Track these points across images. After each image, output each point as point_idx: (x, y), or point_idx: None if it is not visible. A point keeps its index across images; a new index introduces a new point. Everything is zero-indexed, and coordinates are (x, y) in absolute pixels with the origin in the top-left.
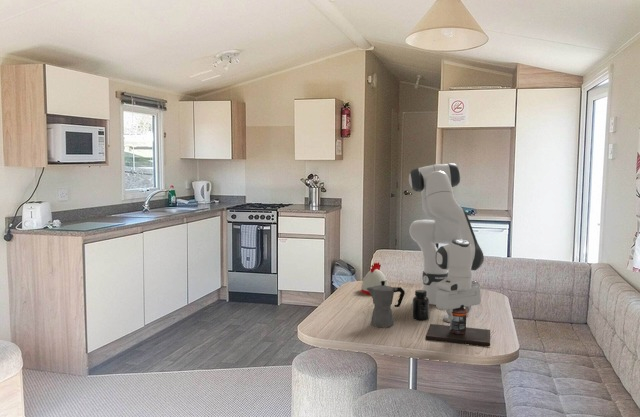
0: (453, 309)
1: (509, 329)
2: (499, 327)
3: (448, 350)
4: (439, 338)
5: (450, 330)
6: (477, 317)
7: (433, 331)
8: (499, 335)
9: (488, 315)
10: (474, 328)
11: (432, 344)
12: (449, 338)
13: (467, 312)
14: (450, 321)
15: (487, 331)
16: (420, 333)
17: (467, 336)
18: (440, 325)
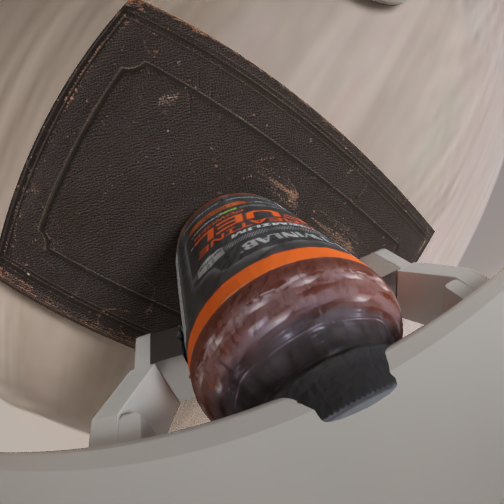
0: (228, 411)
1: (490, 193)
2: (483, 157)
3: (93, 414)
4: (67, 318)
5: (176, 251)
6: (468, 10)
7: (56, 192)
8: (432, 256)
9: (497, 24)
10: (388, 189)
11: (29, 342)
12: (125, 343)
13: (403, 315)
14: (179, 284)
15: (410, 255)
16: (4, 135)
17: None
18: (189, 46)
